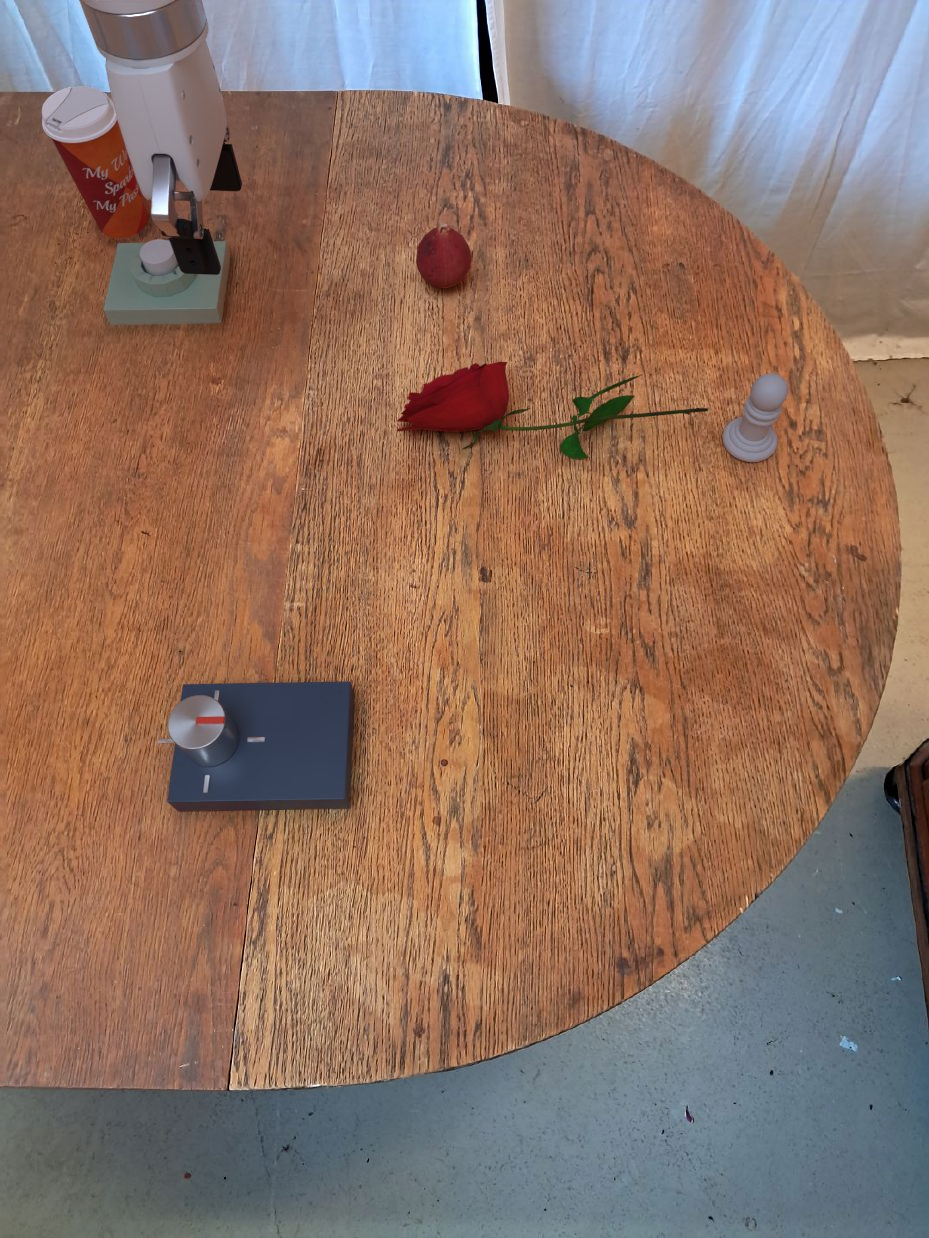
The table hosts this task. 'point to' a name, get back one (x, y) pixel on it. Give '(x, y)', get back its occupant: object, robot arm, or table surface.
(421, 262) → the red round fruit
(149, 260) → the white push button
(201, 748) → the dial
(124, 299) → the push button box
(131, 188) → the paper cup
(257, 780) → the dial panel
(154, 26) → the robot arm
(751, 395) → the chess piece
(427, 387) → the flower
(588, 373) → the table surface
